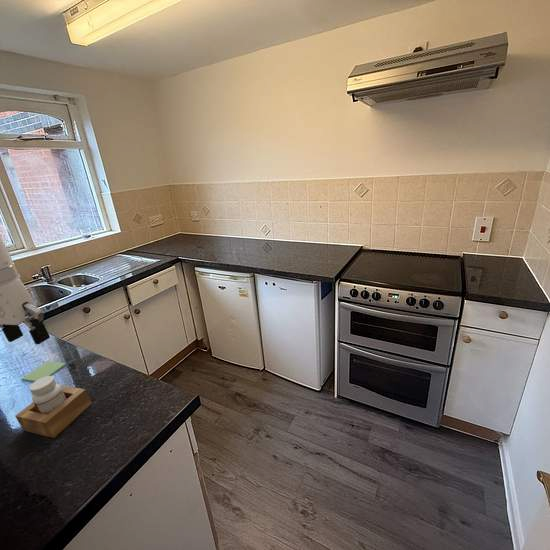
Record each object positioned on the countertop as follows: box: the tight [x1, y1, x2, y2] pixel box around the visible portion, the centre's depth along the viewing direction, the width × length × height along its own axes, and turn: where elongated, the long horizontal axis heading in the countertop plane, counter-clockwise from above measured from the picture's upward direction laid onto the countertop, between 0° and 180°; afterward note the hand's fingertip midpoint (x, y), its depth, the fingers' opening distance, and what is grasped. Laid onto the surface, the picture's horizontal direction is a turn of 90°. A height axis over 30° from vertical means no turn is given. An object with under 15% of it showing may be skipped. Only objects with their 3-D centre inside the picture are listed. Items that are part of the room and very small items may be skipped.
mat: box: [21, 360, 68, 383], centre depth 99 cm, size 9×9×1 cm
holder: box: [14, 384, 93, 439], centre depth 78 cm, size 11×11×5 cm
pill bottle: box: [28, 375, 67, 415], centre depth 77 cm, size 6×6×11 cm
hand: (29, 340), depth 74 cm, fingers open, 9 cm apart
